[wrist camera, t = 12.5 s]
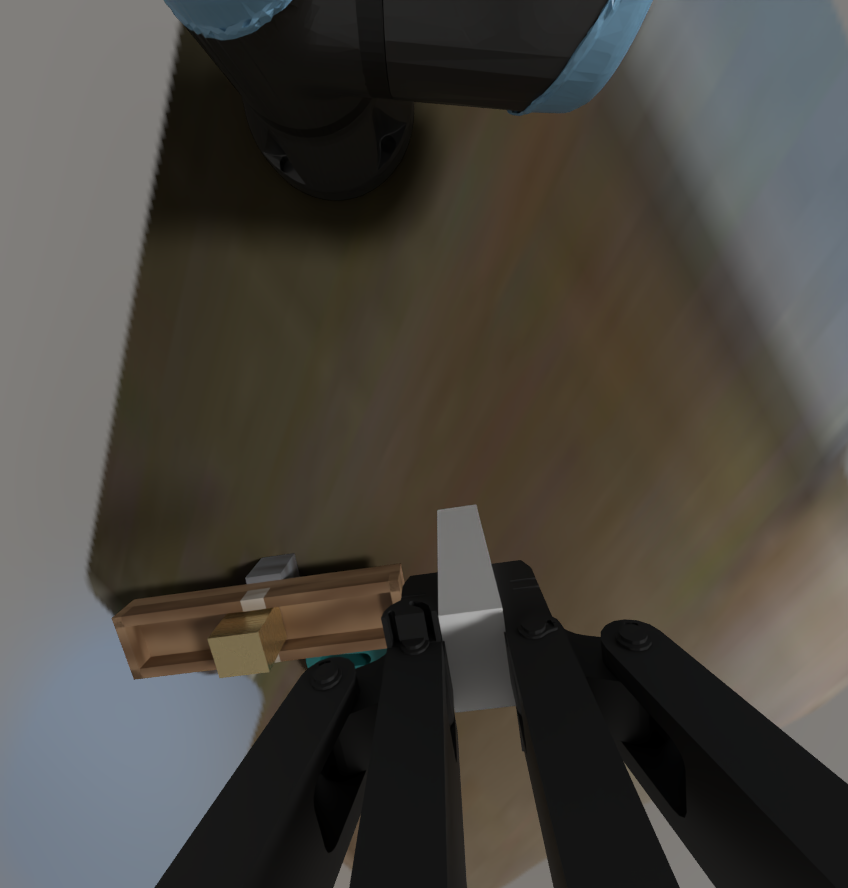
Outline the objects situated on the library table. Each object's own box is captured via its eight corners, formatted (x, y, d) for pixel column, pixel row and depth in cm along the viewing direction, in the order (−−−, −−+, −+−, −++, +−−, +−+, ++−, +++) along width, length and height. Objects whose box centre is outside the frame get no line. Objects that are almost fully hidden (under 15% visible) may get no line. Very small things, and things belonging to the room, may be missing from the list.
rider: (232, 607, 45) (207, 638, 40) (277, 601, 45) (258, 632, 40) (242, 642, 46) (219, 678, 41) (287, 637, 46) (269, 671, 41)
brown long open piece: (157, 572, 51) (109, 611, 44) (402, 538, 49) (396, 573, 42) (179, 636, 53) (136, 685, 46) (415, 606, 51) (412, 651, 44)
